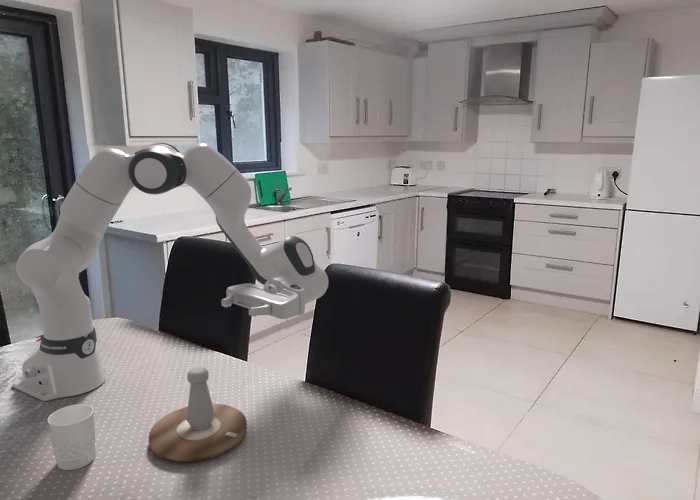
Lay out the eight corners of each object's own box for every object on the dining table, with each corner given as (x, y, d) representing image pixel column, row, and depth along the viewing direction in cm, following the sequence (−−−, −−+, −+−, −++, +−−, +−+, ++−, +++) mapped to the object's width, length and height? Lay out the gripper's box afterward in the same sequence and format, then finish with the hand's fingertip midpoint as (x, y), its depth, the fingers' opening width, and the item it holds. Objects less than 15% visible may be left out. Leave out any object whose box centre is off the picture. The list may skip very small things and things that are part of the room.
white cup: (52, 477, 95) (46, 430, 93) (54, 454, 102) (48, 409, 99) (99, 465, 98) (94, 419, 96) (98, 444, 105) (93, 400, 103)
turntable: (127, 449, 102) (126, 443, 102) (188, 401, 120) (188, 396, 120) (212, 470, 96) (212, 465, 95) (263, 416, 114) (263, 411, 114)
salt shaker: (206, 435, 105) (203, 377, 102) (181, 431, 106) (177, 374, 103) (219, 420, 110) (216, 365, 107) (195, 417, 111) (192, 362, 109)
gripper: (251, 274, 133) (207, 285, 122) (309, 290, 121) (267, 304, 110) (251, 297, 134) (208, 310, 123) (309, 315, 122) (267, 331, 111)
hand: (236, 308), depth 116 cm, fingers open, 8 cm apart
